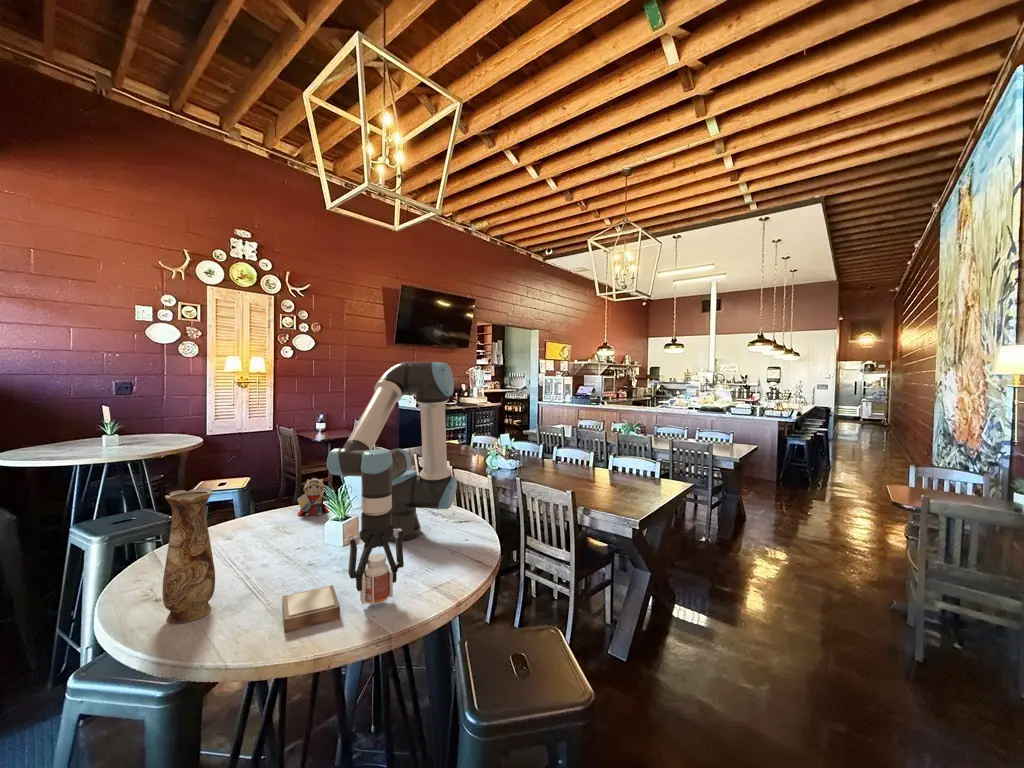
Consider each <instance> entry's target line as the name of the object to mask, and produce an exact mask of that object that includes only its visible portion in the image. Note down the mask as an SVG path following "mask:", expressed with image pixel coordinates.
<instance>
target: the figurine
mask: <svg viewBox="0 0 1024 768" xmlns="http://www.w3.org/2000/svg"><path fill="white" fill-rule="evenodd" d="M324 487H325V488H326V485H325V484H324V479H323V478H320V479H318V478H315V477H314V478H311V479H306V482H305V484H304V486H303V492H304V493H303V494H302V495H301V496H300V497H298V498H297V502H298V505H299V507H300V510H299V511H298V513H297V516H298V517H301V516H302V515H303V514H304V515H305V516H309V515H310V516H316V515H317V516H322V515H323V514H324V512H325V514H327V513H329V512H330V510H329V509H328V508H327V507H326V504H325V505H324V504H323V501H324V500H325V496H324V493H325V491H324ZM328 510H329V511H328ZM323 511H324V512H323Z"/></svg>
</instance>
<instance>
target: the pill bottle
mask: <svg viewBox="0 0 1024 768" xmlns="http://www.w3.org/2000/svg"><path fill="white" fill-rule="evenodd" d="M386 560H387V556H386V554H383V553H374V554H370V555H369V558H368V561H367V565H366V568H365V571H364V574H363V575H364V577H365V579H366V592H365V604H368V605H379V604H382V603H384V602H386V601H387V600H388V599H389V598H390V597H389V567H390V566H389V564H387V563H386V562H387V561H386Z"/></svg>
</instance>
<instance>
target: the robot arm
mask: <svg viewBox="0 0 1024 768" xmlns="http://www.w3.org/2000/svg"><path fill="white" fill-rule="evenodd" d="M454 388H455V380H454V375H453V371H452V368H451V367H450V366H449V364H448V363H446V362H439V361H403V362H400V363H398V364H396V365H394V366H392V367H390V368H389V369H388V370H386V371H385V372H384V373H383V374H382V375H381V376H380V377H379V379H378V380H377V382H376V384H375V385H374V388H373V389H374V393H373V395H372V396H371V399H370V401H369V402H368V404H367V405H366V408H365V409H364V411H363V413H362V415H360V417H359V420H358V421H357V423H356V425H355V426H354V428H353V430H352V432H351V434H350V436H349V437H348V439H347V441H346V442H345V443H344V445H343V447H342V448H341V447H338V448H333V449H332V450H330V451H329V453H328V455H327V458H326V468H327V470H328V472H329V473H330V474H332V475H333V476H342V477H361V480H360V481H361V504H360V505H361V506H360V507H361V515H360V516H361V518H360V519H361V521H360V523H361V525H360V526H361V529H360V531H359V533H358V535H354V536H349V537H348V542H349V546H350V549H349V560H348V562H349V563H348V575H349V576H348V577H349V578H350V579H352V580H353V579H355V588H356V590H357V592H359V593H360V595H359V599H360V602H361V604H362V605H366V602H365V592H366V579H365V577H364V571H365V568H366V566H367V561H368V558H369V556H370V555H371V554H372V551H373V549H375V548H378V547H379V548H383V550H384V553H385V554H384V555H385V556H386V560H387V562H388V566H389V567H390V568H389V597H388V598H393V597H394V595H393V593H394V588H393V587H394V585H393V584H394V583H397V573H398V572H399V569H400V568H403V567H404V565H405V562H404V550H403V549H404V547H403V542H405V541H410V540H413V539H416V538H417V537H419V536H420V535H421V530H422V529H421V527H422V526H421V523H420V521H419V518H418V513H417V509H418V508H419V509H427V510H428V509H431V510H448V509H450V508H451V507H452V506H453V504H454V501H455V498H456V494H457V488H458V479H457V478H456V477H455V476H452V470H451V469H450V468H449V467H448V460H447V459H448V457H447V456H448V455H447V431H446V429H447V428H446V404H447V403H448V402H449V401H450V396H452V395H453V394H454V391H455V389H454ZM406 395H410V396H414V397H415V402H416V403H417V404H418V405H419V406H420V409H419V410H420V427H421V447H422V448H421V449H422V451H421V452H422V453H421V454H422V468H423V469H421V470H420V472H419V474H418V471H416V470H413V469H410V467H411V464H412V458H411V456H410V454H409V452H408V451H406V450H405V449H403V448H392V449H390V450H389V449H383V448H377V449H376V448H375V449H373V448H374V446H375V444H376V442H377V440H378V438H379V437H380V435H381V432H382V430H383V428H384V427H385V424H386V422H387V421H388V419H389V416H390V415H391V412H392V410H393V409H394V406H395V405H396V403H398V402H399V401H400V400H401V399H402V398H403V396H406ZM360 541H362V542H363V543H364V544H363V550H362V553H361V556H360V559H359V562H358V565H357V555H358V546H359V544H360ZM389 542H394V544H395V556H396V561H395V559H394V556H393V553H392V551H391V547H390V544H389ZM356 566H357V567H356Z"/></svg>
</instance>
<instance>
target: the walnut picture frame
mask: <svg viewBox="0 0 1024 768" xmlns="http://www.w3.org/2000/svg"><path fill="white" fill-rule="evenodd" d="M281 599H282V602H281V603H282V607H281V608H282V619H283V621H282V622H283V631H284V633H285V634H286V633H288V632H293V631H297V630H301V629H305V628H308V627H313V626H316V625H320V624H325V623H328V622H332V621H337V620H340V619H341V606H340V603H339V599H338V596H337V593H336V590H335V587H334V585H328V586H327V585H326V586H324V587H319V588H315V589H309V590H304V591H299V592H297V593H296V592H295V593H291V594H285V595H283V596H282V598H281Z"/></svg>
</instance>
